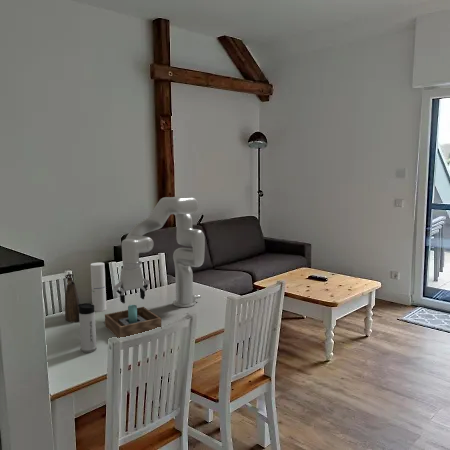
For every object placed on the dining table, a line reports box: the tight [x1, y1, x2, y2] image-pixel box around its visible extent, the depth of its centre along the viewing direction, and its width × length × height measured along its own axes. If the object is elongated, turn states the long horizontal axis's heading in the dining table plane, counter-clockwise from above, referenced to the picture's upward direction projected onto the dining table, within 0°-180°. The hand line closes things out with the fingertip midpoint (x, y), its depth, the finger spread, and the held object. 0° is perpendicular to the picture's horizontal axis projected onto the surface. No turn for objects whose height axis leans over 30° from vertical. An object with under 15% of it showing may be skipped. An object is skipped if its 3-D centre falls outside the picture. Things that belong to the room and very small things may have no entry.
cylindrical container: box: [90, 261, 107, 313], centre depth 234 cm, size 7×7×25 cm
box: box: [104, 306, 162, 339], centre depth 208 cm, size 20×20×6 cm
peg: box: [127, 304, 138, 323], centre depth 208 cm, size 4×4×10 cm
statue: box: [64, 271, 80, 323], centre depth 219 cm, size 9×8×25 cm
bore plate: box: [118, 315, 146, 326], centre depth 208 cm, size 10×10×3 cm
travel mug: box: [78, 302, 97, 354], centre depth 183 cm, size 6×7×20 cm
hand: (132, 300), depth 207 cm, fingers open, 9 cm apart
